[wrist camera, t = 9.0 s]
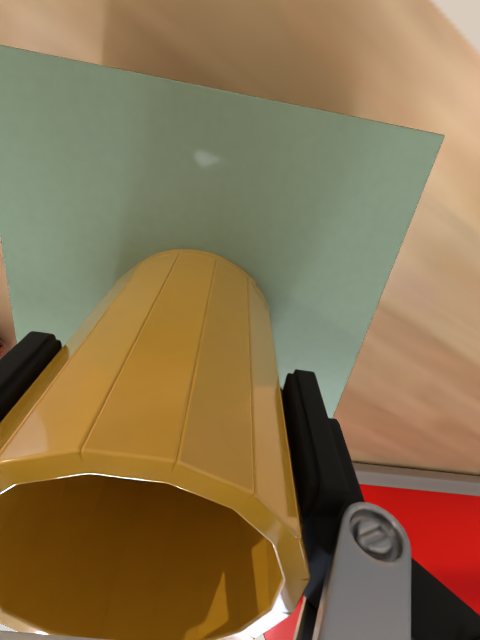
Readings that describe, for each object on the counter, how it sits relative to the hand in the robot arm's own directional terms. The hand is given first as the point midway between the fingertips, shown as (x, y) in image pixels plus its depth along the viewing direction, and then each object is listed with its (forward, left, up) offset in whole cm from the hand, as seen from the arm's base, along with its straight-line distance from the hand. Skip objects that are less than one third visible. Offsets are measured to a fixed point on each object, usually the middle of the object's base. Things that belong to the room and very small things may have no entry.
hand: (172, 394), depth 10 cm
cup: (0, 0, -4) cm, 4 cm away
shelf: (0, 0, -14) cm, 14 cm away
